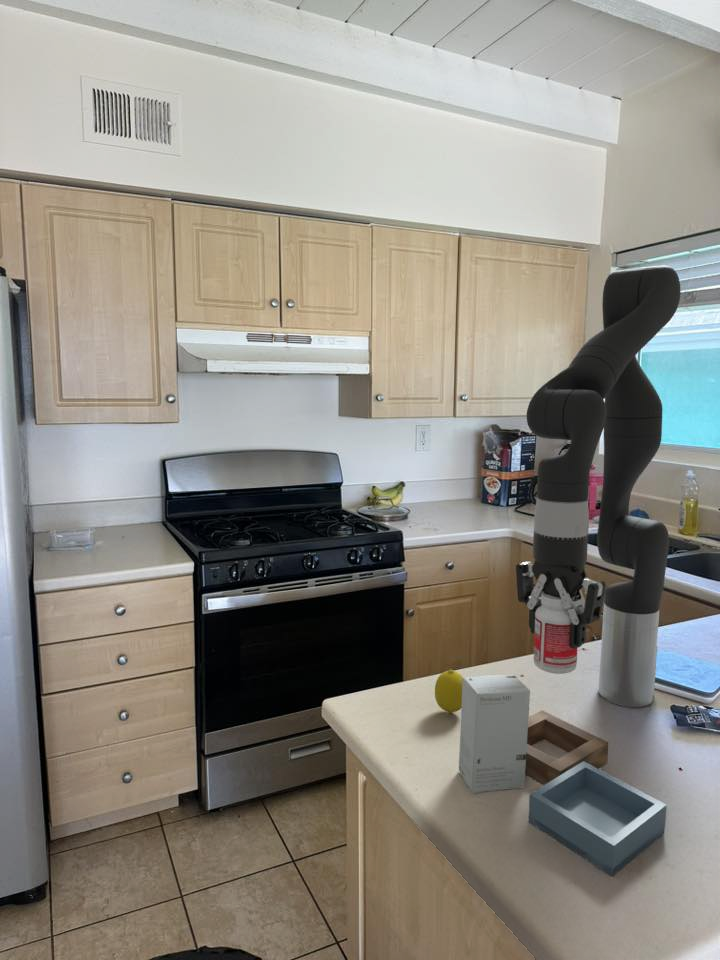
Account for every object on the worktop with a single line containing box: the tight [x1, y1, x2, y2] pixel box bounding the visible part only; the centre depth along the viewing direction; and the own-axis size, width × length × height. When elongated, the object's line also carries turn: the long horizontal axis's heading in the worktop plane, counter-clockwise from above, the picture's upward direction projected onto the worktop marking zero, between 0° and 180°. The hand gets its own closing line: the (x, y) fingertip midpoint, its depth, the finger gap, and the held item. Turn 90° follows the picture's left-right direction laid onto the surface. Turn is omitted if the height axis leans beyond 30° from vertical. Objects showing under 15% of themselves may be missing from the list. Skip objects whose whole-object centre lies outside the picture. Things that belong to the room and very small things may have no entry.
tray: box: [528, 761, 668, 877], centre depth 84 cm, size 12×12×4 cm
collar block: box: [525, 710, 610, 786], centre depth 99 cm, size 12×12×4 cm
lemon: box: [434, 669, 464, 715], centre depth 112 cm, size 6×6×8 cm
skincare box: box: [458, 674, 531, 794], centre depth 93 cm, size 8×6×15 cm
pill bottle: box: [533, 592, 578, 675], centre depth 96 cm, size 6×6×11 cm
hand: (555, 639), depth 96 cm, fingers closed on pill bottle, 6 cm apart
